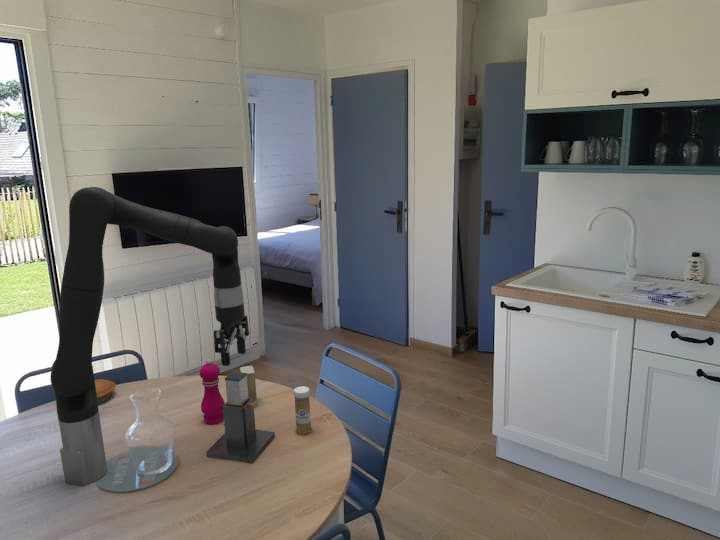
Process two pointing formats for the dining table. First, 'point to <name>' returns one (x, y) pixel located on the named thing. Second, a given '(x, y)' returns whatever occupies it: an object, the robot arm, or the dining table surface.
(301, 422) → the sprinkles bottle
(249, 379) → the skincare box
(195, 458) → the dining table surface
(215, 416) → the pepper mill
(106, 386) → the pie
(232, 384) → the post
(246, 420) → the base
